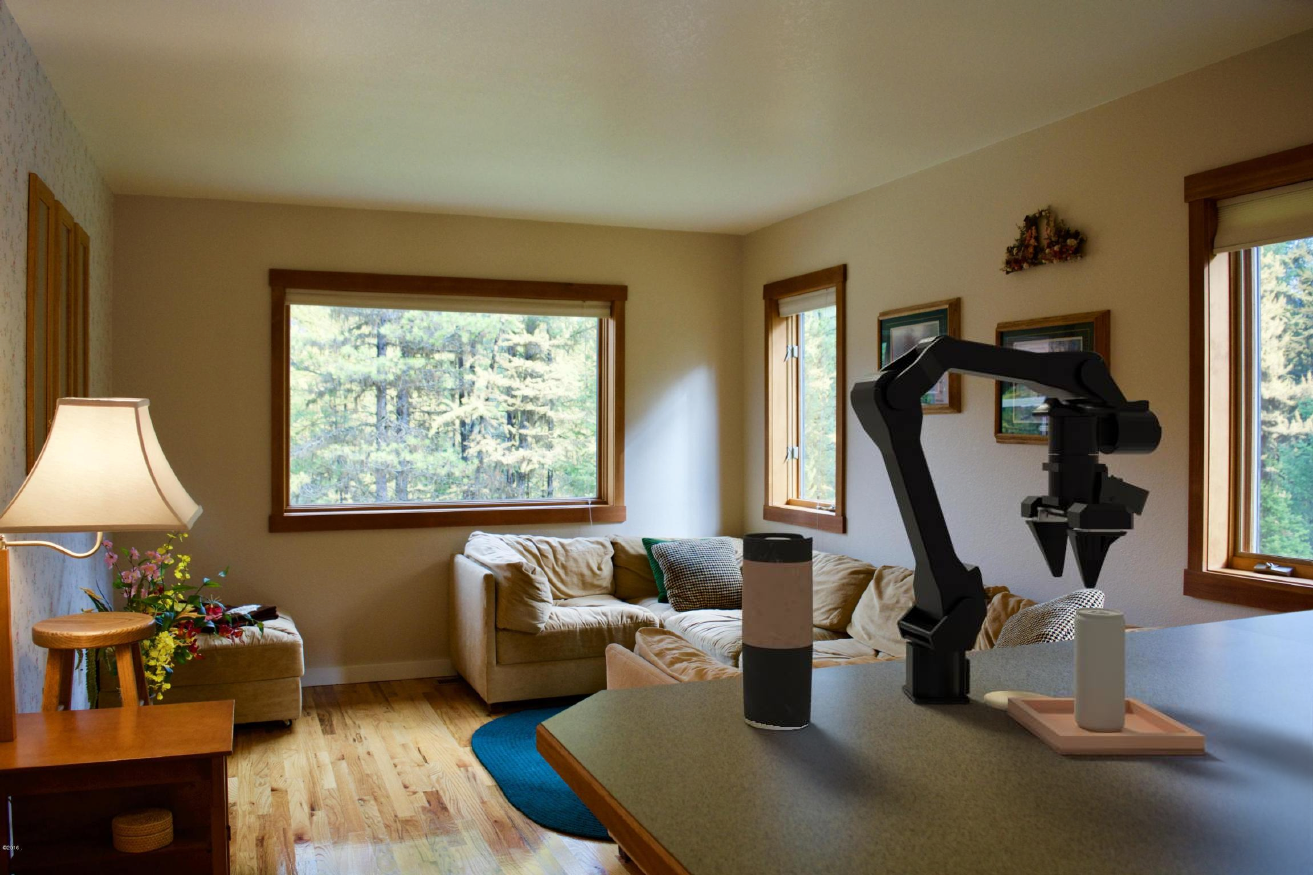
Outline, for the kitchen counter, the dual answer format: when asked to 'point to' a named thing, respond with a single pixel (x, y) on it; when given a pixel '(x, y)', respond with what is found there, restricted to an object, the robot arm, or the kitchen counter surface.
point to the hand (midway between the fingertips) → (1073, 582)
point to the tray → (1137, 737)
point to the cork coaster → (1001, 698)
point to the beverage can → (1099, 669)
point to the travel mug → (777, 628)
